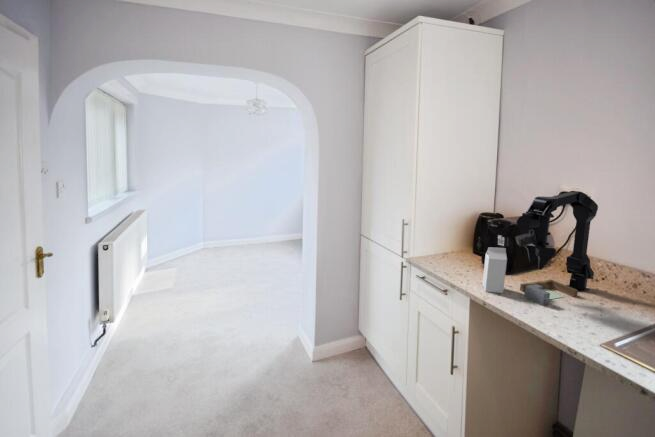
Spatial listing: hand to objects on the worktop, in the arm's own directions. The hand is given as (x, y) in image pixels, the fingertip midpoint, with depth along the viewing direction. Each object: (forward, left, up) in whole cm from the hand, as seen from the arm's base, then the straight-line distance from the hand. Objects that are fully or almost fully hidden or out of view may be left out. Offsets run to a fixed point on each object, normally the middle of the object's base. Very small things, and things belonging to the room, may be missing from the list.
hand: (535, 265), depth 153 cm
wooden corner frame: (-10, -1, -14) cm, 17 cm away
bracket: (-1, +3, -14) cm, 14 cm away
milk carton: (+9, -12, -14) cm, 21 cm away
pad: (-10, -1, -14) cm, 17 cm away
